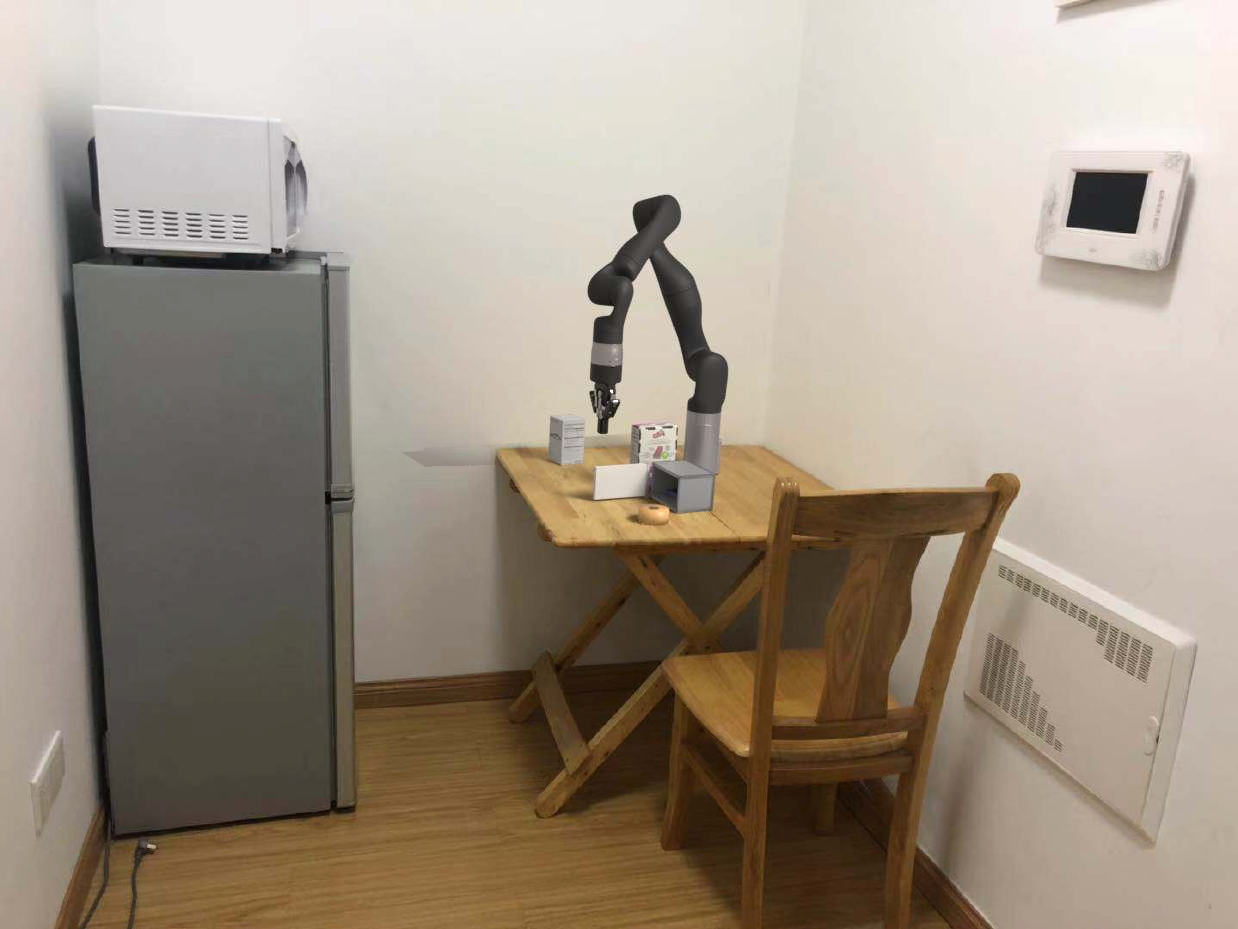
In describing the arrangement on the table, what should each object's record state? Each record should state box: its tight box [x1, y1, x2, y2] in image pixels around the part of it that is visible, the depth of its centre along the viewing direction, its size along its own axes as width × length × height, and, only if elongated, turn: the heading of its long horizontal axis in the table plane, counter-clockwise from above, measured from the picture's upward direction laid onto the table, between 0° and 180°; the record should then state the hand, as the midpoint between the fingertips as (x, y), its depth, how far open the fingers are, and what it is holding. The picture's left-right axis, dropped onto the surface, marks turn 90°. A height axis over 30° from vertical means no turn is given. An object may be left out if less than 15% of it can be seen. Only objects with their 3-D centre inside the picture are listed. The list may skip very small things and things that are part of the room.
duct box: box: [649, 459, 717, 514], centre depth 240 cm, size 10×14×9 cm
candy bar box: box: [629, 421, 679, 491], centre depth 252 cm, size 11×5×16 cm, turn 117°
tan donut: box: [637, 503, 670, 527], centre depth 226 cm, size 7×7×3 cm
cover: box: [592, 463, 651, 501], centre depth 241 cm, size 15×1×8 cm, turn 116°
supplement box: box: [547, 413, 586, 466], centre depth 273 cm, size 7×7×13 cm
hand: (602, 433), depth 238 cm, fingers closed
